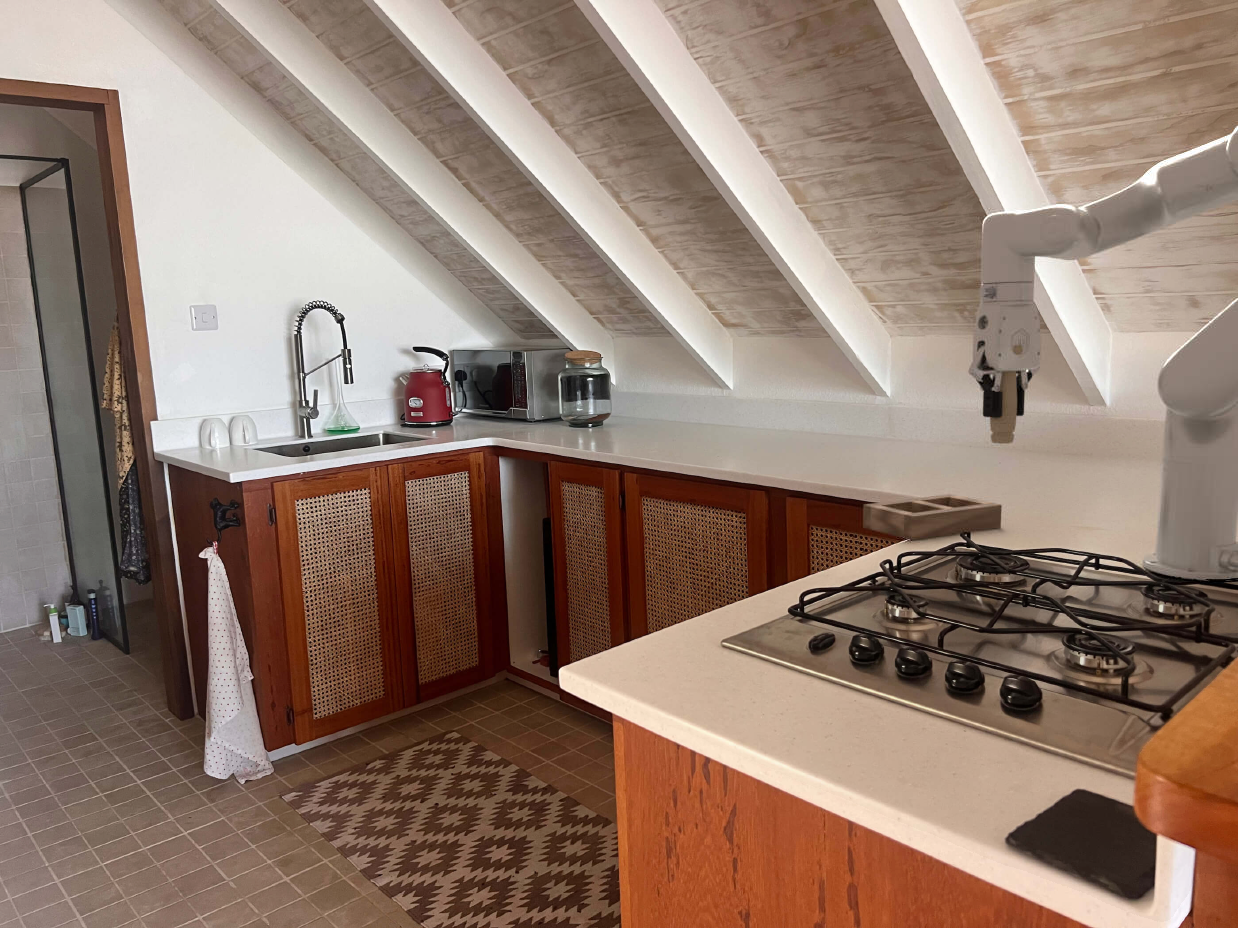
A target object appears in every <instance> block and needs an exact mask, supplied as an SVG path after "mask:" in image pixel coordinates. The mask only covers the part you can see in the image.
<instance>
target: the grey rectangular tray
mask: <svg viewBox="0 0 1238 928" xmlns="http://www.w3.org/2000/svg"><path fill="white" fill-rule="evenodd" d="M862 507H863V509H862V511H863V513H862V527H863V528H864V529H868V530H871V531H876V532H879V533H883V534H887V535H891V536H895V537H898V538H903V539H905V540H909V541H918V540H926V539H933V538H937V537H945V536H952V535H959V534H962V533H961V532H966V533H973V532H978V531H985V530H993V529H999V528H1001V527H1002V504H1001V503H995V502H990V501H985V500H980V499H975V498H971V497H964V496H960V495H955V494H950V493H949V494H941V495H934V496H924V497H917V498H916V497H915V498H908V499H907V498H906V499H900V500H892V501H883V502H875V503H867V504H866V503H865V504H863V506H862Z"/></svg>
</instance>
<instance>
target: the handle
mask: <svg viewBox="0 0 1238 928" xmlns="http://www.w3.org/2000/svg"><path fill="white" fill-rule="evenodd" d="M1012 351H1013V353H1014V354H1016V355H1019V354H1022V351H1023V345H1015V346H1013V350H1012ZM993 370H995V369H994V368H993ZM1016 377H1017V374H1016V371H1002V377H1001V383H1000V389H999V391H1002V394H1003V397H1002V416H1001V417H1000V418H992V417H989V425H990V432H992V434H990V439H991V443H994V444H1000V445H1001V444H1011V443H1013V442H1014V439H1015V434H1014V432H1015V430H1016V426H1017V425H1016V424H1017V417H1018V416H1017V415H1016V413H1017V410H1016V409H1017V385H1016ZM992 380H993V375H992Z"/></svg>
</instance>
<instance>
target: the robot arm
mask: <svg viewBox="0 0 1238 928" xmlns="http://www.w3.org/2000/svg"><path fill="white" fill-rule="evenodd" d="M1237 201H1238V125H1237V126H1236V127H1235V129H1234V130H1233V132H1232V133H1230V134H1228V135H1226V136H1223V137H1221V138H1219V139H1216V140H1213V141H1211V142H1208V143H1206V144H1204V145H1201V146H1198V147H1196V148H1193V149H1191V150H1189V151H1186V152H1183V153H1181V154H1177V155H1176V156H1175V155H1174V156H1173V157H1170V158H1167V159H1166V160H1162V161H1160V162H1159V163H1157V164H1156V165H1154V166H1153V167H1151V168H1149V170H1147V172H1145V174H1144V175H1143V176H1142V177H1140V178H1139V179H1138V180H1137V181H1135V182H1134V183H1133V184H1131V185H1130V186H1128V187H1126V188H1123V189H1122V190H1120V191H1117V192H1116V193H1114V194H1113V193H1112V194H1111V195H1109V196H1106V197H1103V198H1102V199H1099V200H1096V201H1094V202H1091V203H1089V204H1085V205H1083V206H1080V207H1076V206H1073V205H1070V204H1069V205H1068V204H1063V203H1062V204H1053V205H1049V206H1045V207H1040V208H1037V209H1031V210H1023V211H1022V210H1014V211H1013V210H1011V211H1001V212H996V213H995V212H994V213H991V214H989V215H987V216H986V217H985V218H984V220H983V222H982V229H981V256H980V257H981V259H980V261H981V265H980V267H981V268H980V269H981V270H980V271H981V273H980V289H979V291H978V296H979V297H980V299H979V300H980V301H979V302H980V303H979V305H978V309H977V313H976V317H975V322H974V323H975V324H974V331H973V339H972V340H973V342H972V343H973V344H972V362H971V364H970V366H969V369H968V374H969V375H970V376H971V377H973V378H974V379H975V380H976V382H977V383H978V385H979V389H980V391H982V393H983V394H982V395H983V396H982V416H983V417H984V418H990V417H992V418H1000V417H1001V416H1002V397H1003V394H1002V391H999V389H1000V383H1001V377H1002V371H1016V385H1017V409H1016V410H1017V413H1016V415H1017V417H1023V416H1024V415H1025V395H1026V394H1025V390H1028V389H1029V383H1030V381H1031V380H1032V378H1033V376H1034V375H1035V374H1036V373H1038V372H1039V371H1040V364H1041V362H1042V361H1041V359H1042V357H1041V356H1042V355H1041V354H1042V350H1041V349H1042V346H1041V345H1042V342H1041V341H1042V340H1041V324H1040V323H1041V322H1040V317H1039V310H1038V306H1037V304H1034V297H1035V296H1034V293H1035V289H1034V288H1035V268H1036V266H1035V265H1036V257H1040V258H1050V259H1051V258H1052V259H1059V260H1064V261H1077V260H1080V259H1084V258H1088V257H1091V256H1093V255H1097V254H1100V253H1102V252H1105V251H1107V250H1110V249H1113V248H1116V247H1118V246H1121V245H1122V246H1123V245H1124V244H1127V243H1129V242H1132V241H1135V240H1137V239H1140V238H1141V237H1144V236H1146V235H1149V234H1151V233H1154V232H1157V231H1160V230H1163V229H1166V228H1168V227H1171V226H1173V225H1175V224H1177V223H1180V222H1182V221H1185V220H1188V219H1190V218H1193V217H1195V216H1199V215H1201V214H1202V215H1203V213H1206V212H1210V211H1212V210H1215V209H1217V208H1221V207H1223V206H1226V205H1229V204H1232V203H1235V202H1237ZM1015 345H1023V351H1022V354H1019V355H1016V354H1014V353H1013V351H1012V350H1013V346H1015ZM993 368H994V369H995V370H993ZM991 375H992V376H993V380H992V378H991ZM1157 391H1158V395H1159V398H1160V400H1161V401H1162V403H1163V404H1164V405H1165V407H1166V410H1165V419H1164V429H1163V440H1162V454H1161V457H1162V458H1161V467H1160V468H1161V469H1160V482H1159V498H1158V513H1157V531H1156V542H1155V543H1156V544H1155V545H1156V548H1155V552H1153V553H1152V552H1151V553H1148V554H1146V555H1144V556H1143V558H1142V566H1143V567H1144V568H1145V569H1146V570H1149V571H1151V572H1153V573H1157V574H1160V575H1165V576H1169V577H1173V576H1174V578H1179V577H1181V578H1180V579H1187V580H1194V579H1196V581H1197V580H1198V581H1207V580H1206V579H1231V578H1238V541H1237V533H1238V297H1237V298H1236V299H1235V300H1233V301H1232V302H1231V303H1229V304H1228V306H1227V307H1225V308H1224V309H1223V310H1222V311H1221V312H1219V313H1218V314H1217V315H1216V316H1215V317H1214V318H1213V319H1212V320H1211V321H1209V323H1207V324H1205V326H1203V328H1201V329H1200V330H1199V331H1197V333H1195V335H1193V336H1191V338H1190V339H1189V340H1188V341H1187V342H1186V343H1184V344H1183V345H1182V346H1181V347H1180V348H1178V349H1177V350H1175V352H1173V354H1172V355H1170V357H1169V358H1168V359H1167V360H1166V361H1165V362H1164V363H1163V365H1162V367H1161V368H1160V371H1159V372H1158V377H1157Z"/></svg>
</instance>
